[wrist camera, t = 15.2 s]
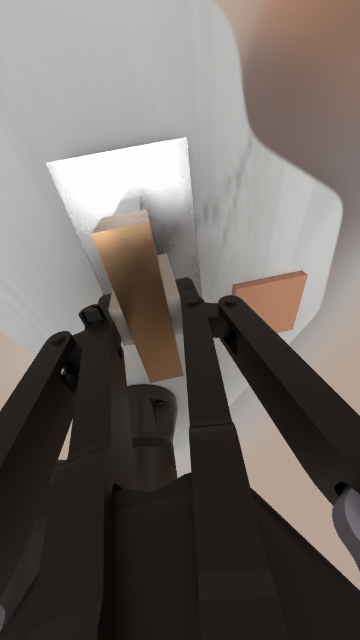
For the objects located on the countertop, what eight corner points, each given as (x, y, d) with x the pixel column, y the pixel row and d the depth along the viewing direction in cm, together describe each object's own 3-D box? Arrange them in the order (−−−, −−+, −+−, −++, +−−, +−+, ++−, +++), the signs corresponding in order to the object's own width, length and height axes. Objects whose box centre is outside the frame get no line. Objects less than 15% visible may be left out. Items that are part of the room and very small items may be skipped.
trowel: (201, 310, 25) (233, 386, 17) (120, 327, 25) (111, 413, 16) (184, 138, 15) (242, 109, 7) (49, 162, 15) (-67, 165, 6)
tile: (300, 269, 29) (286, 323, 36) (231, 283, 29) (230, 335, 35) (307, 274, 28) (292, 329, 34) (236, 289, 28) (234, 341, 34)
